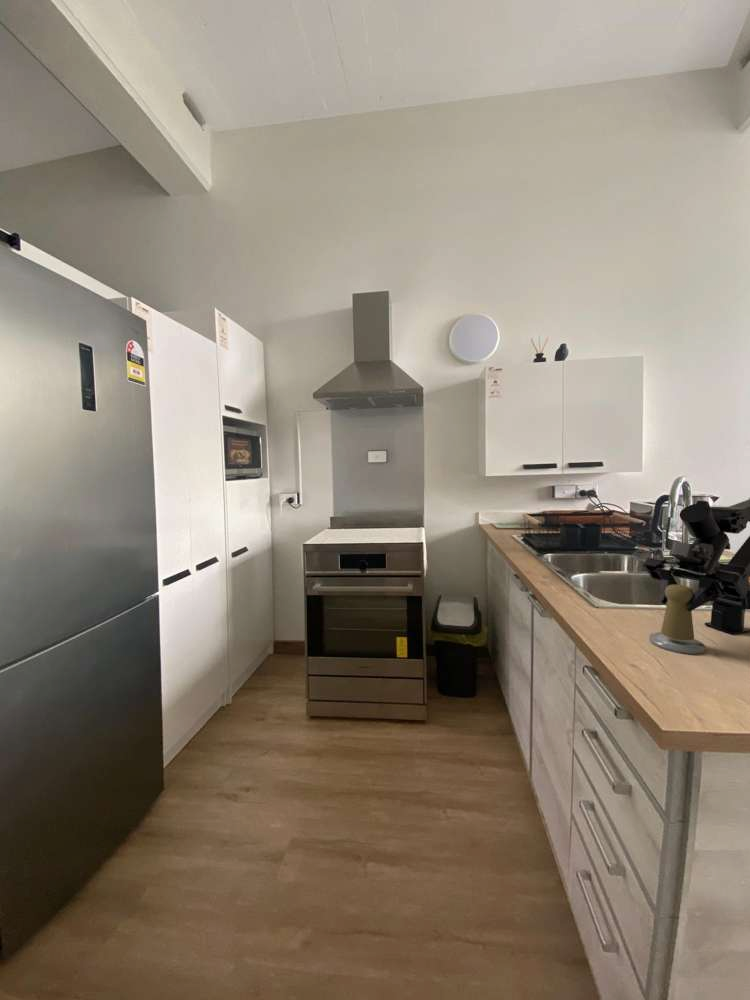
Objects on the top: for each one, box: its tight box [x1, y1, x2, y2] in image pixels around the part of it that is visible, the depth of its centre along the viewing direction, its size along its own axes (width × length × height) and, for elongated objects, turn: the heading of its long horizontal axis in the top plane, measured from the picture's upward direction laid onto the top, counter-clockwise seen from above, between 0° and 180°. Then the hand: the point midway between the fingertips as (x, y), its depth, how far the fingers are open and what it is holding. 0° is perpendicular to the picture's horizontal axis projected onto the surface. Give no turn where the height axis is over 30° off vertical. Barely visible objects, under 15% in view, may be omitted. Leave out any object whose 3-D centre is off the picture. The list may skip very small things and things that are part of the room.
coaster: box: [648, 631, 706, 655], centre depth 94 cm, size 10×10×1 cm
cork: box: [660, 584, 695, 640], centre depth 94 cm, size 6×6×11 cm
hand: (675, 606), depth 93 cm, fingers closed on cork, 5 cm apart
